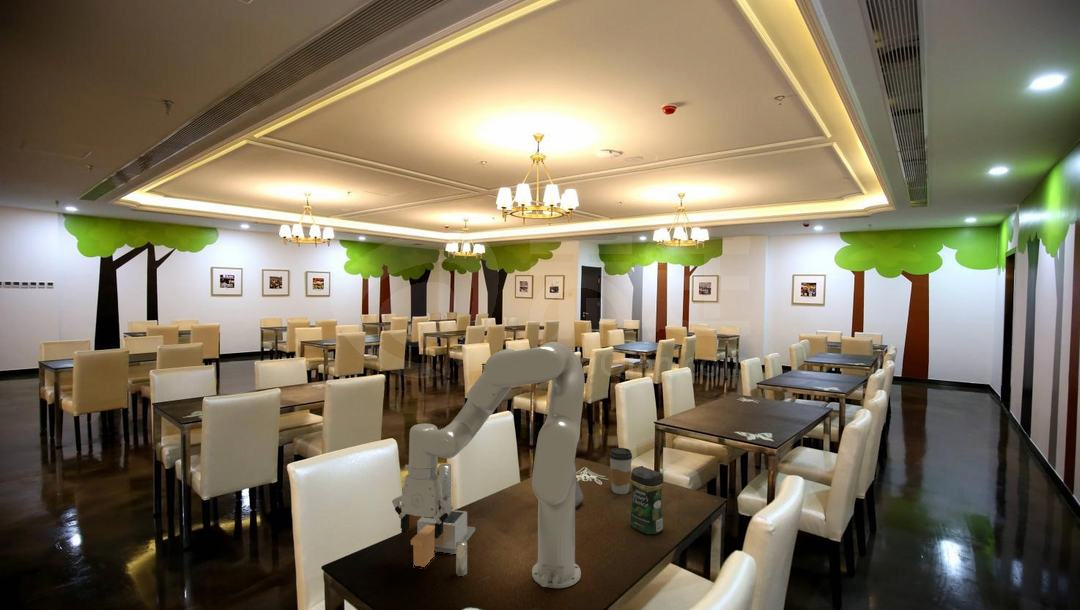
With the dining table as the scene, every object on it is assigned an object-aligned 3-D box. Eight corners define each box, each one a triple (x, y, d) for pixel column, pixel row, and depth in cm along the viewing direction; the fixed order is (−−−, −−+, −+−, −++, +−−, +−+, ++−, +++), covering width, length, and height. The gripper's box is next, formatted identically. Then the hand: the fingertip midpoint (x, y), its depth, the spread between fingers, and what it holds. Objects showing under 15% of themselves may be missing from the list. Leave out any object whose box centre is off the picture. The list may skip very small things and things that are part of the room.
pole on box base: (456, 554, 141) (456, 483, 141) (416, 549, 144) (416, 479, 144) (475, 530, 156) (475, 465, 156) (438, 526, 159) (438, 462, 158)
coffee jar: (626, 526, 159) (626, 467, 158) (642, 519, 164) (643, 462, 163) (650, 538, 151) (650, 476, 151) (667, 530, 156) (667, 470, 156)
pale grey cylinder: (464, 577, 130) (464, 546, 130) (454, 575, 131) (454, 545, 131) (468, 571, 133) (468, 541, 133) (458, 570, 134) (458, 540, 133)
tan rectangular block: (422, 571, 133) (421, 541, 133) (410, 570, 134) (410, 540, 133) (436, 554, 142) (436, 526, 141) (426, 553, 142) (426, 524, 142)
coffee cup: (635, 489, 188) (635, 449, 188) (626, 497, 181) (627, 455, 181) (614, 485, 193) (614, 445, 192) (605, 492, 186) (605, 451, 185)
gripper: (386, 472, 135) (385, 535, 136) (447, 479, 131) (445, 545, 132) (400, 463, 143) (399, 523, 143) (458, 469, 139) (457, 531, 139)
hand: (421, 533), depth 138 cm, fingers open, 9 cm apart
